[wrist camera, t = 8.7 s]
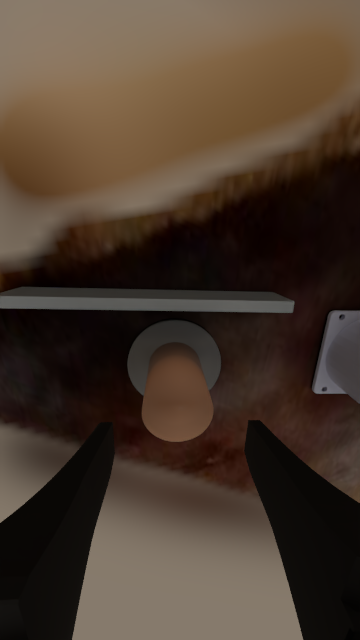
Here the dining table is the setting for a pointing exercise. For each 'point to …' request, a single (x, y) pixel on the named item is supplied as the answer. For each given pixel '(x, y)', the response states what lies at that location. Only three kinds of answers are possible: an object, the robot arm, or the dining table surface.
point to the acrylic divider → (144, 300)
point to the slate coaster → (169, 333)
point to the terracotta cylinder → (176, 394)
